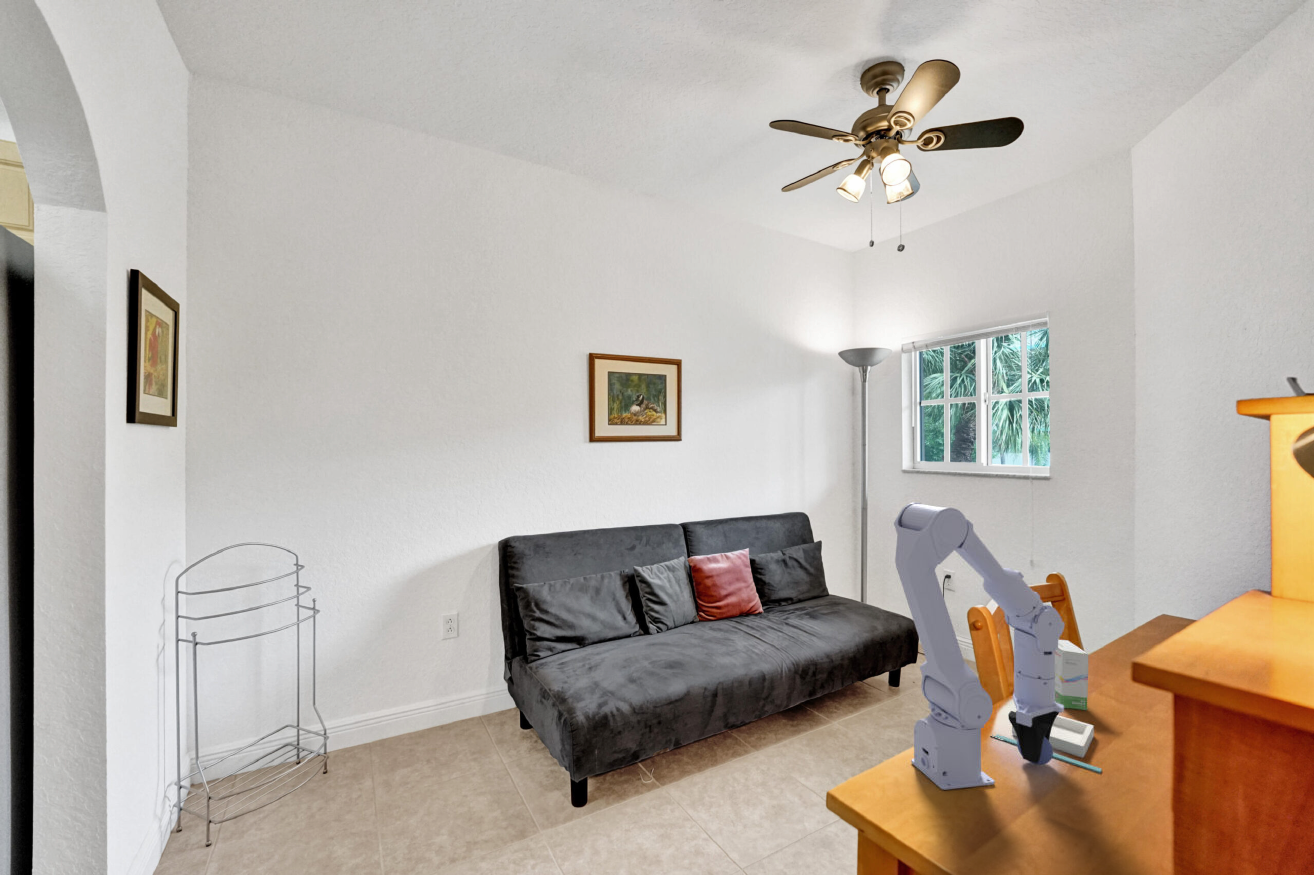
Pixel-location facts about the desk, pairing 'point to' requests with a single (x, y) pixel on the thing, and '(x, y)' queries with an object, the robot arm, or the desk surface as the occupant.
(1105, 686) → the desk surface
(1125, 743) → the desk surface
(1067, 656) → the ink box
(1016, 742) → the teal line
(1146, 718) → the desk surface
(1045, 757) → the ball
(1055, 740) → the tray
